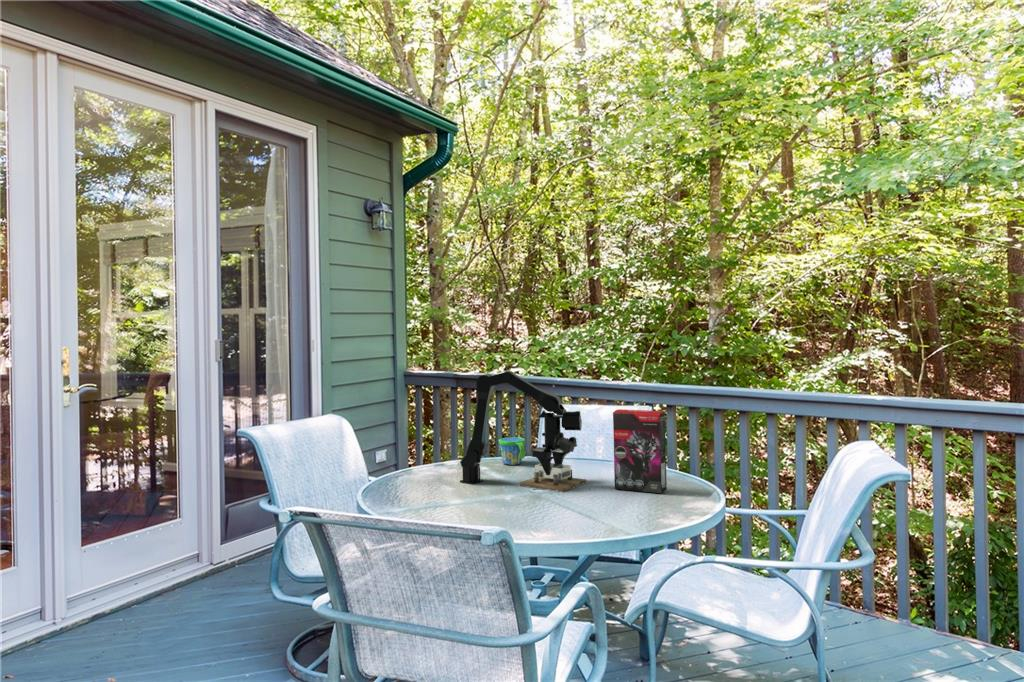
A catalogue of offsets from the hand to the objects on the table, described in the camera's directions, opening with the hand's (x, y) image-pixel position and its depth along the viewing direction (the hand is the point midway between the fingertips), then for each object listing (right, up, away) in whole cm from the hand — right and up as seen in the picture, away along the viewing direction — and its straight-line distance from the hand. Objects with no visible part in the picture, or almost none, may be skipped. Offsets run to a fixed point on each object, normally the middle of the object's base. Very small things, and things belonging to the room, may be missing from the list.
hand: (553, 473), depth 256 cm
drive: (0, -1, 0) cm, 1 cm away
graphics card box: (+29, -4, -11) cm, 31 cm away
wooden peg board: (0, -4, 0) cm, 4 cm away
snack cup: (-15, -3, +38) cm, 41 cm away
